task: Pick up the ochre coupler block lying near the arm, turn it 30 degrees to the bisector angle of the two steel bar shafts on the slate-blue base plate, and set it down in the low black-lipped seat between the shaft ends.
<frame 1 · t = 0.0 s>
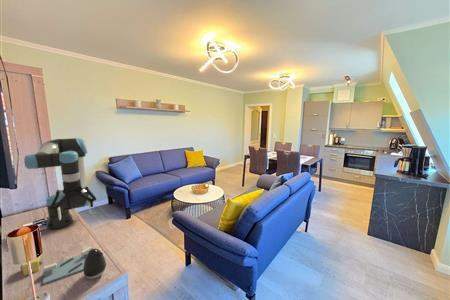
hand: (75, 215, 108), 28 cm above the sideboard, fingers open, 13 cm apart
shaft rig: (71, 266, 108), on the sideboard
dark grey dome: (96, 274, 104), on the sideboard
coupler: (32, 269, 105), on the sideboard
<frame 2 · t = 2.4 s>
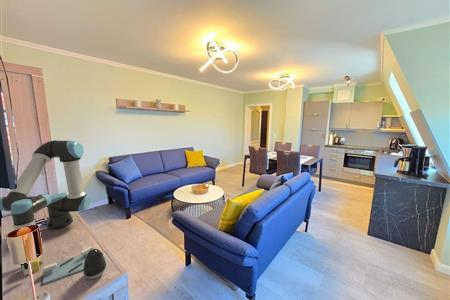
hand: (31, 264, 104), 3 cm above the sideboard, fingers open, 13 cm apart
nothing on the sideboard moved.
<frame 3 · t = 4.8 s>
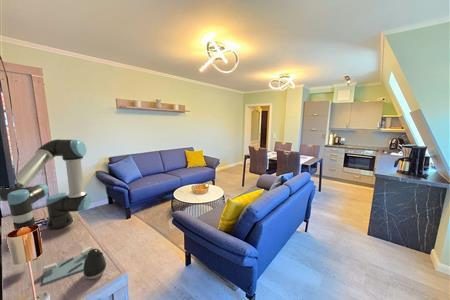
hand: (31, 256, 104), 7 cm above the sideboard, fingers closed on coupler, 6 cm apart
coupler: (32, 257, 104), point 7 cm above the sideboard, touching gripper
everything else where it was.
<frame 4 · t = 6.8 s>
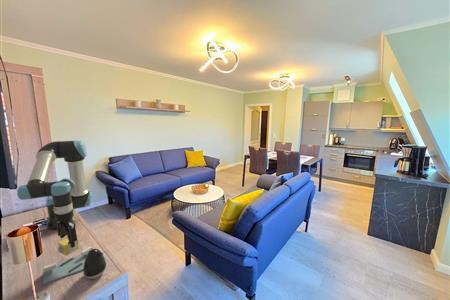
hand: (69, 249, 105), 11 cm above the sideboard, fingers closed on coupler, 6 cm apart
coupler: (69, 250, 105), point 11 cm above the sideboard, touching gripper
everything else where it was.
when the fingers open (2 cm above the sideboard, at t = 9.0 s): coupler stays where it is, resting on shaft rig.
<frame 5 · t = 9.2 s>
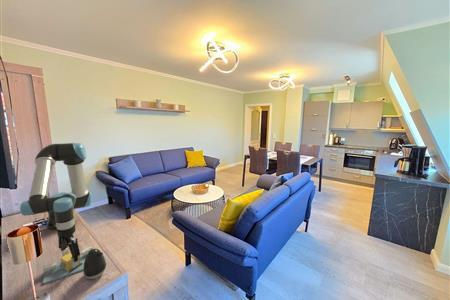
hand: (70, 262, 107), 3 cm above the sideboard, fingers open, 8 cm apart
coupler: (71, 265, 107), point 1 cm above the sideboard, touching shaft rig
everything else where it was.
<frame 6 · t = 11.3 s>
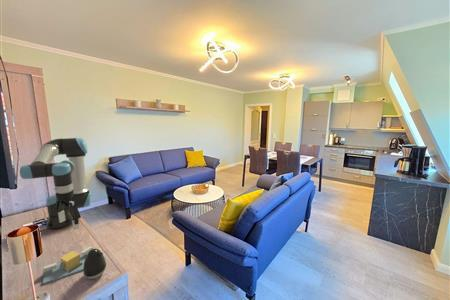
hand: (69, 225, 110), 21 cm above the sideboard, fingers open, 13 cm apart
nothing on the sideboard moved.
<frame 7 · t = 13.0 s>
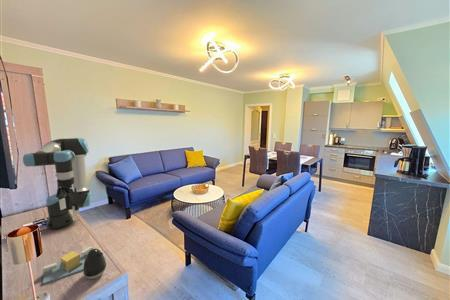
hand: (69, 211, 114), 27 cm above the sideboard, fingers open, 13 cm apart
nothing on the sideboard moved.
at the end: coupler 0.0 cm off-centre on the shaft rig, point 1.0 cm above the shaft rig's base; coupler tilted 0°; the gripper is holding nothing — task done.
